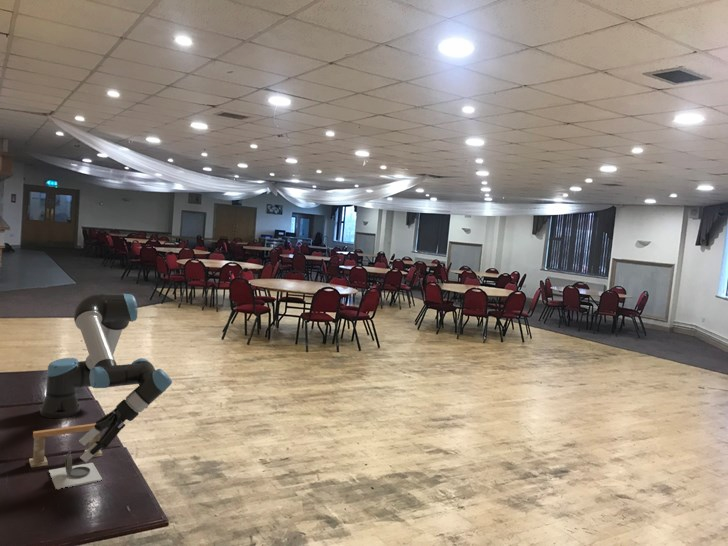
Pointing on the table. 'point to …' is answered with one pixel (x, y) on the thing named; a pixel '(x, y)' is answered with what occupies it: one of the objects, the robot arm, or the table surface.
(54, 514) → the table surface
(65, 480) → the mat
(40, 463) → the posts
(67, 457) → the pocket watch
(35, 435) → the bar
